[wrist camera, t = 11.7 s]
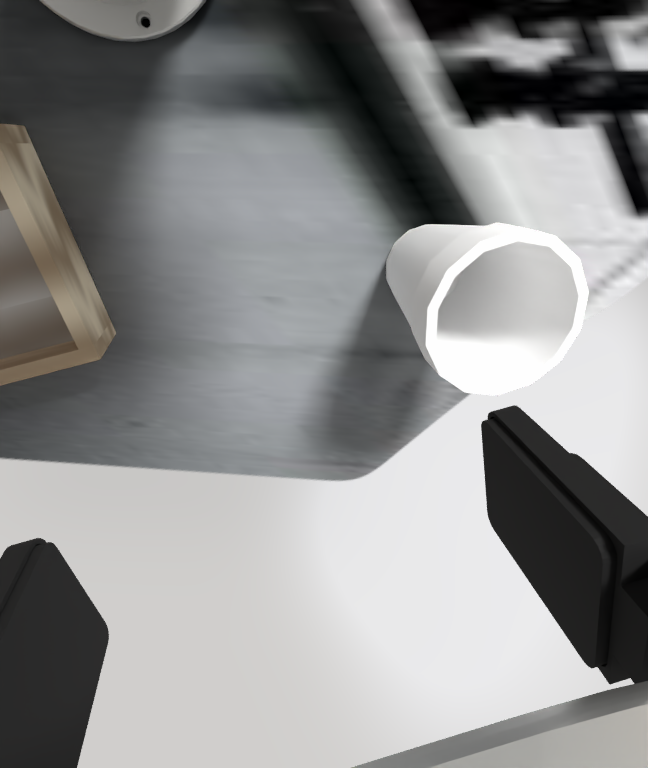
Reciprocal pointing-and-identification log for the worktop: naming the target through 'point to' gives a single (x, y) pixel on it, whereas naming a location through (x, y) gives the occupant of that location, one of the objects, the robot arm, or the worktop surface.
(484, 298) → the foam cup
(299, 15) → the worktop surface
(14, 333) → the box
